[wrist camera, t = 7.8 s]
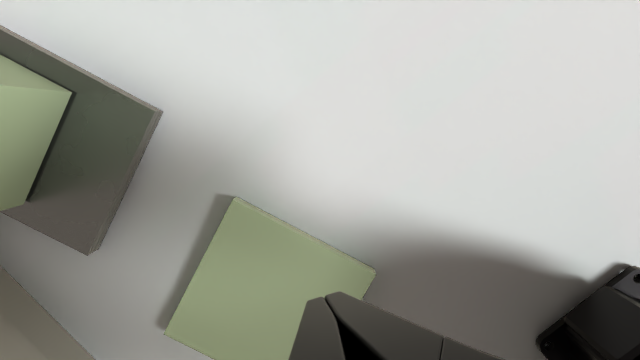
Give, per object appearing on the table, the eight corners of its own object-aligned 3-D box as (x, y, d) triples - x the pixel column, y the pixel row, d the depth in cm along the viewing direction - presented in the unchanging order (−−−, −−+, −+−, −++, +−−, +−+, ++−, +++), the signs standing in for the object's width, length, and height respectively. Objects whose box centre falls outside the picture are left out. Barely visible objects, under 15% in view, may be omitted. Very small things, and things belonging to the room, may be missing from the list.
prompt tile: (374, 268, 21) (376, 274, 21) (301, 392, 22) (300, 402, 22) (236, 196, 21) (232, 199, 20) (169, 326, 22) (163, 334, 21)
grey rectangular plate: (163, 111, 20) (154, 111, 19) (98, 249, 21) (87, 255, 20) (-26, 11, 20) (-44, 5, 19) (-82, 158, 21) (-103, 160, 20)
